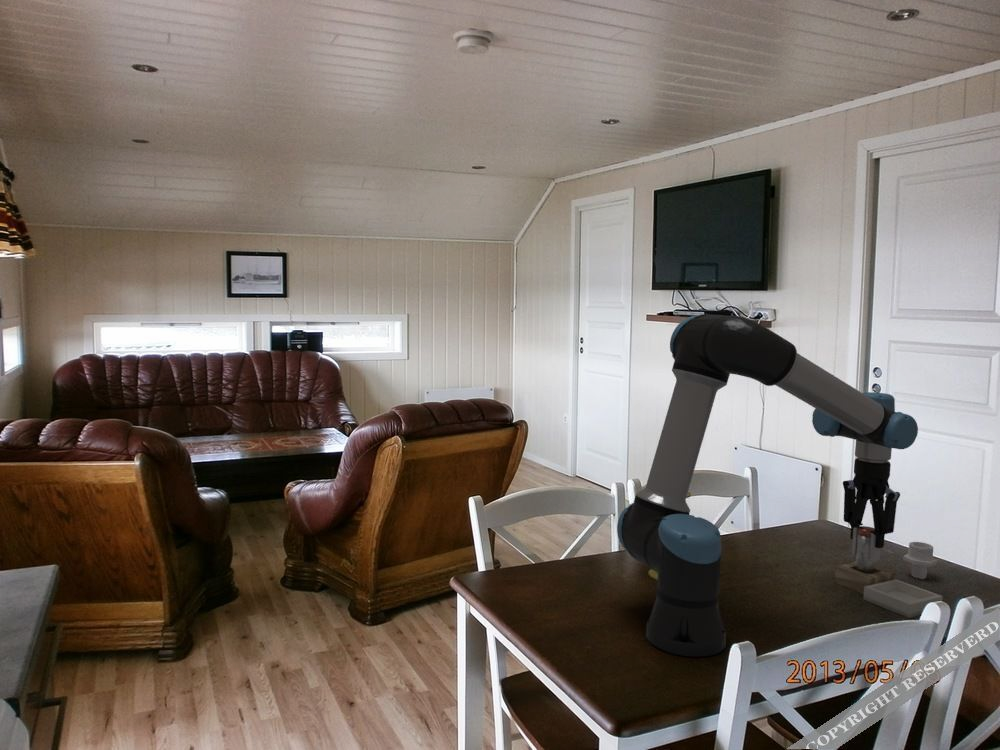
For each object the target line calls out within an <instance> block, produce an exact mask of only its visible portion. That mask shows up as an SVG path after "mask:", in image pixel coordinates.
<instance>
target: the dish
mask: <svg viewBox="0 0 1000 750" xmlns="http://www.w3.org/2000/svg"><path fill="white" fill-rule="evenodd" d="M943 599H944V597H943V595H940V594H938V593H935V592H932V591H930V590H926V589H925V588H922V587H919V586H916V585H913V584H911V583H907V582H906V581H902V580H900V579H896V578H895V580H891V581H886V582H882V583H878V584H873V585H869V586H864V594H863V600H864V601H866V602H869V603H871V604H873V605H875V606H879V607H880V608H883V609H886V610H889V611H891V612H893V613H895V614H897V615H900V616H903V617H905V618H907V619H911V618H916V617H919V616H921V615H920V614H921V612H922V610H923V608H924V607H925V605H926V604H927V603H929V602H933V601H942V602H943Z"/></svg>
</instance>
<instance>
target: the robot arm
mask: <svg viewBox="0 0 1000 750" xmlns="http://www.w3.org/2000/svg"><path fill="white" fill-rule="evenodd" d="M669 349H670V352H671V355H672V356H671V357H672V358H673V360H674V361H673V365H672V368H671V371H672V373H673V375H674V377H675V379H676V380H675V381H676V382H675V384H674V388H673V391H672V394H671V398H670V401H669V405H668V409H667V412H666V415H665V418H664V423H663V425H662V430H661V433H660V435H659V440H658V444H657V446H656V450H655V454H654V457H653V459H652V464H651V468H650V471H649V474H648V478H647V481H646V485H645V487H644V488H643V489H641V490H640V491H637V492H636V494H635V497H634V500H633V502H632V503H630V504H629V505H628V506H627V507H625V508H624V509H623V510H622V512H621V513H620V514H619V517H618V520H617V525H616V531H617V532H616V533H617V538H618V540H619V543H620V545H621V546H622V548H623V549H624V550H625V551H626V552H627V553H628V554H629V555H630V556H631V557H632V558H634V559H635V560H636V561H638V562H641V563H642V564H643V565H645V566H646V567H647V568H649V569H650V570H651V569H652V570H654V571H655V572H657V573H658V577H657V580H656V581H657V583H656V584H657V585H656V598H655V601H654V603H653V607H652V610H651V613H650V616H649V618H648V619H647V621H646V625H645V628H646V629H645V631H646V632H645V637H646V639H647V641H648V642H649V643H650V644H651V645H653V646H654V647H656V648H658V649H659V650H662V651H665V652H666V653H671V654H673V655H678V656H683V657H684V656H685V657H693V658H694V657H696V658H698V657H699V658H700V657H710V656H715V655H717V654H719V653H721V652H722V651H724V649H726V645H727V644H726V642H727V632H726V628H725V627H724V626H725V625H724V622H723V618H722V617H723V616H722V615H721V609H720V606H719V593H720V591H719V590H720V578H721V577H720V574H721V557H722V556H721V555H722V553H723V548H722V535H721V532H720V530H719V528H718V527H717V525H715V524H714V523H713V522H711V521H710V520H708V519H705V518H703V517H699V516H698V517H696V516H695V515H692V514H690V513H691V509H690V507H689V505H688V503H687V501H686V499H687V498H686V497H687V493H688V492H689V489H690V485H691V483H692V480H693V475H694V472H695V469H696V465H697V461H698V459H699V455H700V451H701V447H702V444H703V441H704V437H705V433H706V430H707V427H708V423H709V420H710V417H711V413H712V410H713V407H714V403H715V400H716V395H717V392H718V391H719V390H721V389H722V388H724V387H726V386H727V385H728V381H729V378H730V375H736V376H737V375H738V376H741V377H745V378H749V379H751V380H755V381H757V382H759V383H760V384H763V385H764V386H767V387H773V386H776V387H778V388H779V389H781V390H783V391H784V392H786V393H789V394H790V395H792V396H793V397H795V398H797V399H799V400H800V401H802V402H804V403H806V404H808V405H809V406H811V407H812V408H814V410H813V412H812V414H811V415H812V420H811V422H812V426H813V429H814V430H815V432H816V433H817V434H818V435H820V436H823V437H830V438H832V437H833V438H834V437H842V438H847V439H851V440H855V449H854V456H855V459H854V464H853V465H854V466H853V474H855V475H854V477H853V479H849V480H844V481H842V486H843V490H844V496H843V500H844V501H843V521H844V522H845V523H848V524H849V526H850V536H849V537H850V540H852V542H851V543H852V544H851V546H852V547H851V555H853V556H856V552H857V538H858V527H860V526H864V523H863V519H864V515H865V511H866V508H867V503H868V501H869V504H870V505H871V511H872V521H873V528H874V531H875V532H873V533H871V543H870V557H869V561H871V562H873V561H875V562H877V561H880V560H881V549H883V548H884V546H885V536H886V535H888V534H893V533H894V531H895V530H894V529H895V523H896V512H897V503H898V501H899V498H900V496H901V493H900V492H899V491H894V490H893V489H892V488H890V484H889V478H890V477H891V467H892V466H891V464H892V463H891V462H890V461H891V459H892V449H896V450H906V449H908V448H910V447H911V446H912V445H913V444H914V443H915V442H916V440H917V439H916V438H917V436H918V433H919V426H918V423H917V420H916V419H915V418H914V417H913V416H912V415H910V414H907V413H903V412H901V411H896V404H895V403H896V401H895V400H896V399H895V397H894V396H893V395H892V394H890V393H883V392H872V391H870V392H869V391H868V392H866V391H865V392H862V391H860V390H858V389H856V388H855V387H853V386H852V385H850V384H848V383H846V382H845V381H843V380H841V379H840V378H839V377H837V376H835V375H834V374H832V373H831V372H829V371H827V370H825V369H824V368H822V367H821V366H819V365H817V364H816V363H814V362H812V361H811V360H809V359H808V358H806V357H804V356H803V355H801V354H800V353H798V351H797V347H796V345H794V343H792V342H790V341H789V340H787V339H785V338H784V337H782V336H781V335H779V334H778V333H776V332H774V331H772V330H771V329H769V328H768V327H765V326H764V325H762V324H760V323H759V322H757V321H755V320H752V319H750V318H747V317H744V316H740V315H724V314H709V313H702V314H698V315H697V314H696V315H692V316H689V317H686V318H685V319H684V320H683V319H682V320H681V321H680V322H679V323H678V324H677V326H676V327H675V328H674V330H673V332H672V334H671V337H670V341H669Z"/></svg>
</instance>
